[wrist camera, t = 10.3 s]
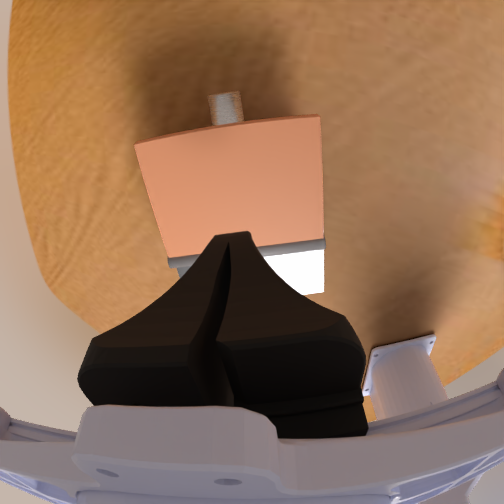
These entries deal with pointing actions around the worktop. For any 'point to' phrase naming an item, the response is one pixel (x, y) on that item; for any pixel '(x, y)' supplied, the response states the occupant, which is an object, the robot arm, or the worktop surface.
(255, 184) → the plate
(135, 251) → the worktop surface
